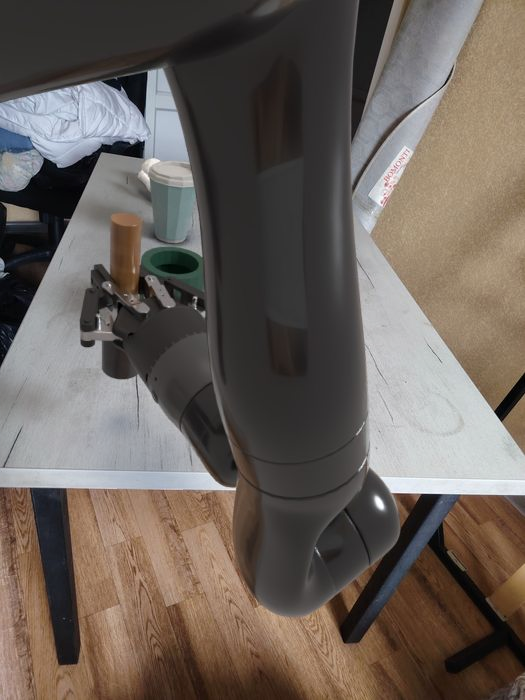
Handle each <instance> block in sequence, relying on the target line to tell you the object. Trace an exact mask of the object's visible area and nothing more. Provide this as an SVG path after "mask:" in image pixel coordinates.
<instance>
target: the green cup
mask: <svg viewBox="0 0 525 700" xmlns="http://www.w3.org/2000/svg"><path fill="white" fill-rule="evenodd" d="M140 265H142V266H143V267H144V268H145V269H146V271H147V272H148V273H149V274H150V275H153V276H155V277H157V279H158V280H164V277H166V276H173V277H175V278H177V279H179V280H181V281H183V282H185V283H187V284H189V285H191V286H193V287H195V288H197V289H199V290H201V291H203V292H204V280H203V260H202V255H200V254H198V253H197V252H195V251H193V250H190V249H187V248H184V247H179V246H178V247H176V246H158V247H153V248H150V249H148V250H146V251H144V253H143V254H142V255H141V257H140ZM175 295H177V296H179V297H181V293H180V292H179V291H177V290H175ZM138 299H144V295H138Z"/></svg>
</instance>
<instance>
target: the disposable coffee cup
mask: <svg viewBox="0 0 525 700" xmlns="http://www.w3.org/2000/svg"><path fill="white" fill-rule="evenodd" d="M148 177H149V179H150V189H151V192H150V197H151V198H150V199H151V209H152V218H153V227H154V228H153V229H154V234H155V237H156V239H158V240H159V241H161V242H164V243H169V244H178V243H182V242H184V241H185V240H186V238H187V237H188V232H189V229H190V225H191V222H192V216H193V213H194V209H195V206H196V202H197V201H196V195H195V189H194V183H193V177H192V172H191V167H190V162H187V161H182V160H164V161H161V162H158V163H155V164H153V165H152V166H151V167H150V168H149V172H148Z"/></svg>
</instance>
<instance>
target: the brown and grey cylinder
mask: <svg viewBox="0 0 525 700" xmlns="http://www.w3.org/2000/svg"><path fill="white" fill-rule="evenodd" d="M109 228H110V234H109V235H110V239H109V241H110V243H109V246H110V247H109V254H110V255H109V274H110V276H111V277H112V278H113V279H114V283H115V284H116V285H117V286H118V287H119V288H120V289H121V290H128V291H129V292H130V293H131V294H132V295H133V296H134V297H135V298H137V299H139V294H138V292H139V273H140V265H141V250H142V249H141V248H142V231H143V220H142V217H140V216H138V215H136V214H133V213H129V212H117V213H114V214H112V215H111V216H110V227H109ZM106 324H107V325H108V326H111V327H112V326H113V324H114V321H113V318H112V316H111V314H109V322H108V323H106ZM101 370H102V371H103V373H104V374H105V375H106V376H107V377H109V378H112V379H115V380H130V379H133V378H135V377H137V376H139V375H138V373H137V372H136V370H135V369H134V367H133V366H132V364H131V362H130V360H129V358H128V356H127V354H126V353H125V352H124V351H123V350H121V349H119V348H117V347H116V346H115V345H114V344H113V343H112V341H101Z"/></svg>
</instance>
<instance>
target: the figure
mask: <svg viewBox="0 0 525 700" xmlns="http://www.w3.org/2000/svg"><path fill="white" fill-rule="evenodd" d="M158 162H162V161H161V160H160V159H158V158H155V157H151V158H147V159H146V160H145V161H144V162H143V163H142V164H141V170H140V171H139V172H138V174H137V175H138V176H137V179H139V181H141V182H142V183H143V185H145V187H146V189H147V191H148V192H149V193H151V189H150V179H149V177H148V172H149V168H150V167H151V166H152V165H153V164H155V163H158Z"/></svg>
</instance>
